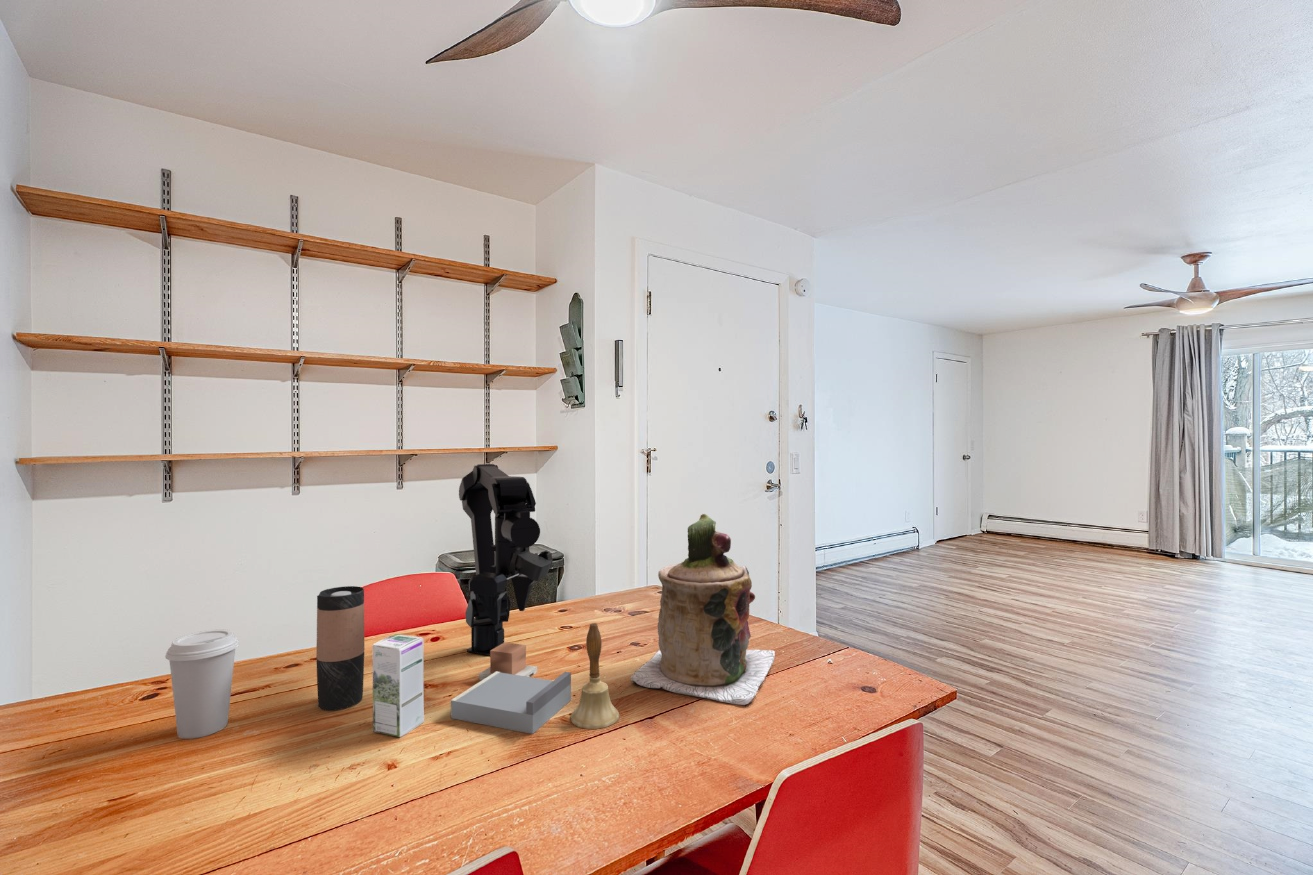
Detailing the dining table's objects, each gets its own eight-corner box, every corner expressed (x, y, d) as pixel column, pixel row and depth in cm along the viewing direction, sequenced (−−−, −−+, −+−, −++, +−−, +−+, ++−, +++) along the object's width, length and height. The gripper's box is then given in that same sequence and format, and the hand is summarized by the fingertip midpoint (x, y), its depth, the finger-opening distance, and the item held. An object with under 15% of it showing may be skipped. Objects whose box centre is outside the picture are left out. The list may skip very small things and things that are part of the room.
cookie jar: (625, 687, 111) (625, 520, 112) (670, 645, 134) (670, 506, 134) (752, 709, 102) (752, 527, 102) (778, 660, 125) (777, 511, 125)
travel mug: (373, 697, 107) (374, 588, 107) (335, 715, 100) (335, 598, 100) (345, 689, 110) (345, 584, 110) (306, 706, 103) (306, 593, 103)
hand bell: (592, 734, 93) (592, 635, 93) (560, 718, 99) (560, 624, 99) (629, 716, 99) (629, 623, 99) (597, 702, 105) (597, 613, 105)
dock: (450, 718, 99) (450, 688, 99) (496, 687, 111) (496, 661, 111) (532, 733, 93) (532, 702, 93) (570, 699, 106) (570, 672, 106)
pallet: (478, 680, 115) (478, 651, 115) (499, 667, 121) (499, 639, 121) (517, 686, 112) (517, 656, 112) (537, 672, 118) (537, 644, 118)
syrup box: (425, 722, 97) (425, 635, 97) (399, 739, 92) (399, 647, 92) (398, 716, 99) (398, 631, 99) (370, 733, 94) (371, 643, 94)
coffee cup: (156, 749, 89) (157, 651, 89) (174, 722, 97) (174, 633, 97) (233, 734, 93) (233, 641, 93) (243, 710, 102) (243, 624, 102)
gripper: (518, 550, 105) (518, 636, 105) (567, 534, 123) (566, 608, 123) (467, 546, 109) (466, 630, 109) (521, 531, 127) (521, 603, 126)
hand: (509, 617), depth 117 cm, fingers open, 9 cm apart
